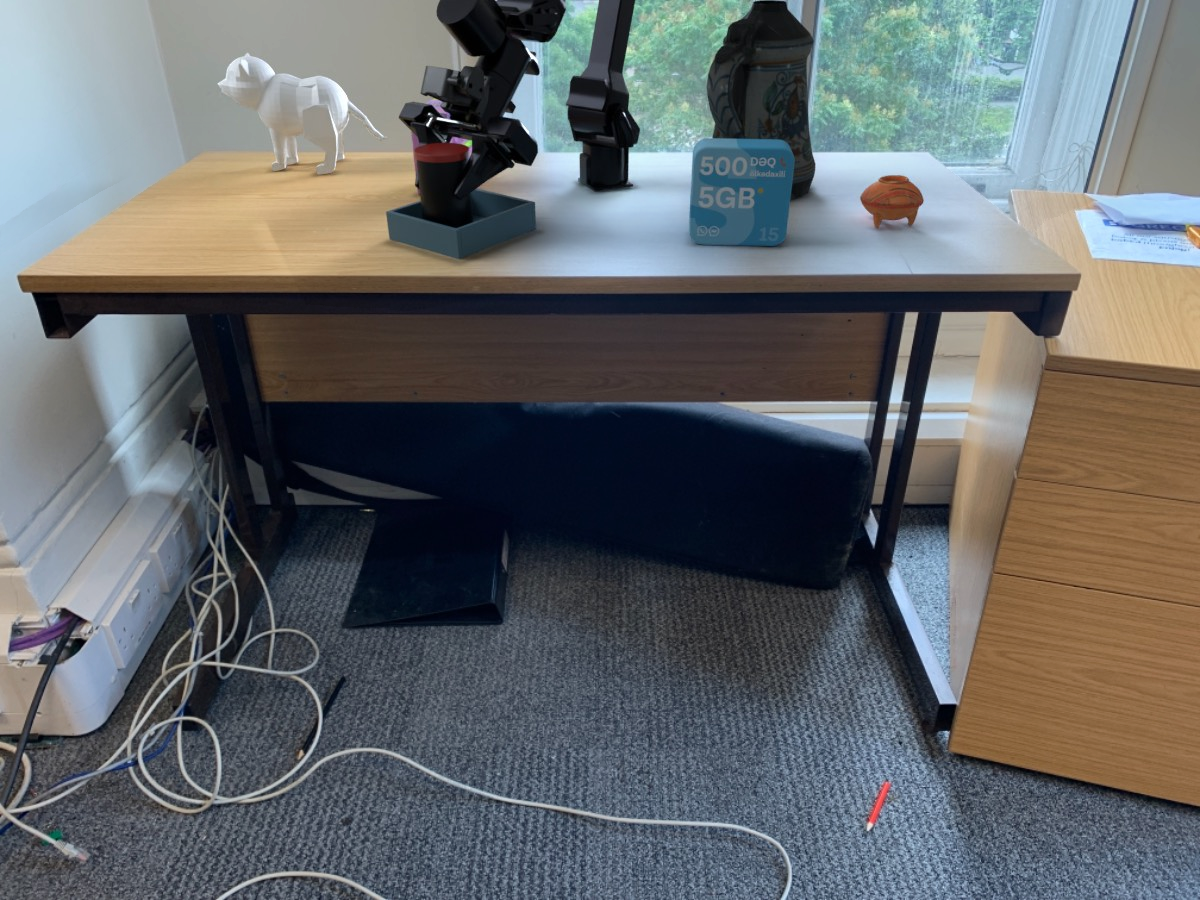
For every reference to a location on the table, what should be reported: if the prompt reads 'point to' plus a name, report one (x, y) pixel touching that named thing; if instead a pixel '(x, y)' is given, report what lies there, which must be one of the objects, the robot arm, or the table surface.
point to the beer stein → (765, 84)
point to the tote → (491, 225)
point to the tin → (443, 183)
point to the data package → (740, 191)
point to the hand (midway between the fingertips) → (437, 192)
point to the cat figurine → (294, 109)
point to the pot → (892, 199)
